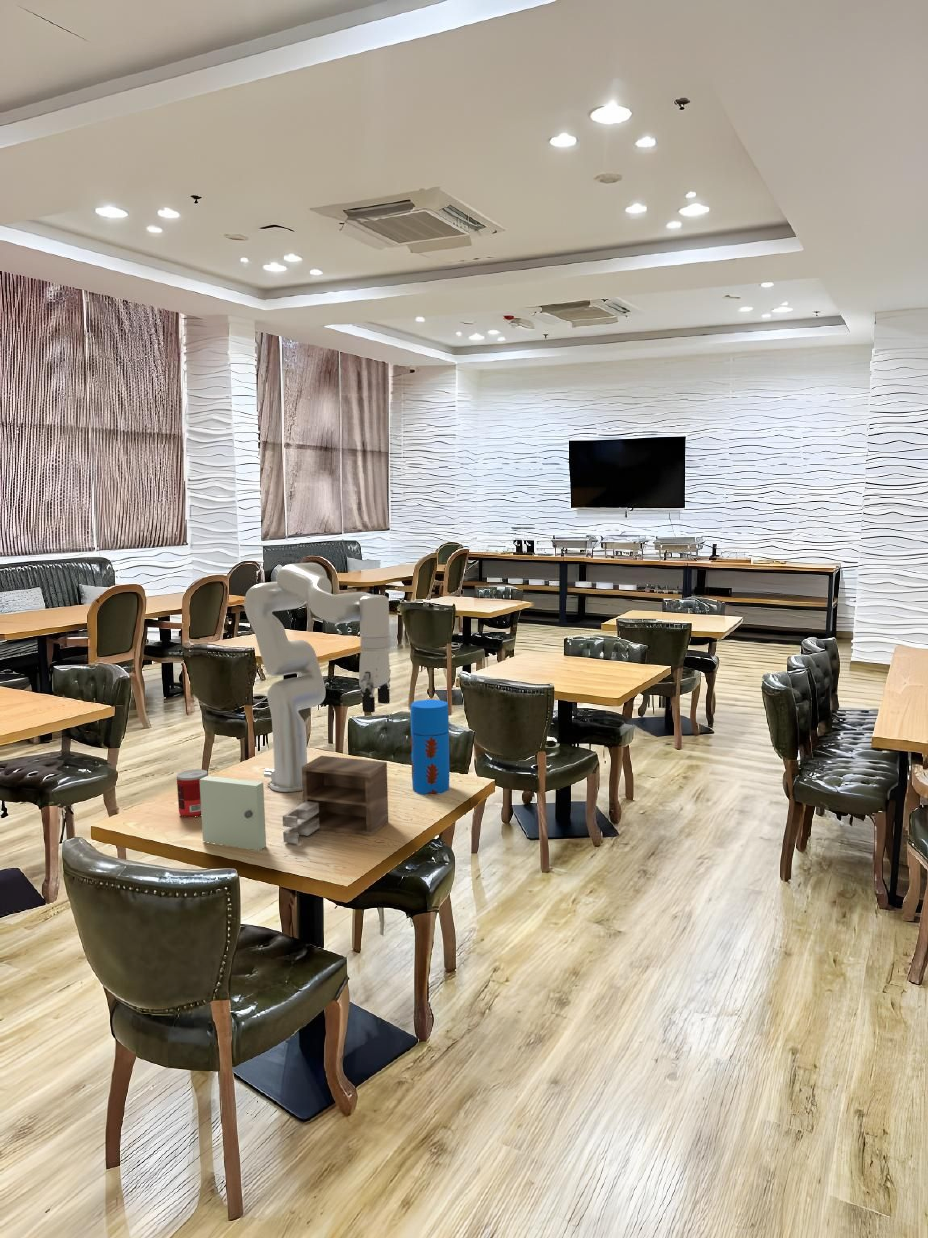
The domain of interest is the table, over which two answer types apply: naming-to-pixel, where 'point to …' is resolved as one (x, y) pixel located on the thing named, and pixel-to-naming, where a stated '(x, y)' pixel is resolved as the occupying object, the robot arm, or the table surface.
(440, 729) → the thermos
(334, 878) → the table surface
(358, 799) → the cabinet
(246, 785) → the door
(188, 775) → the canned food
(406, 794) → the table surface
